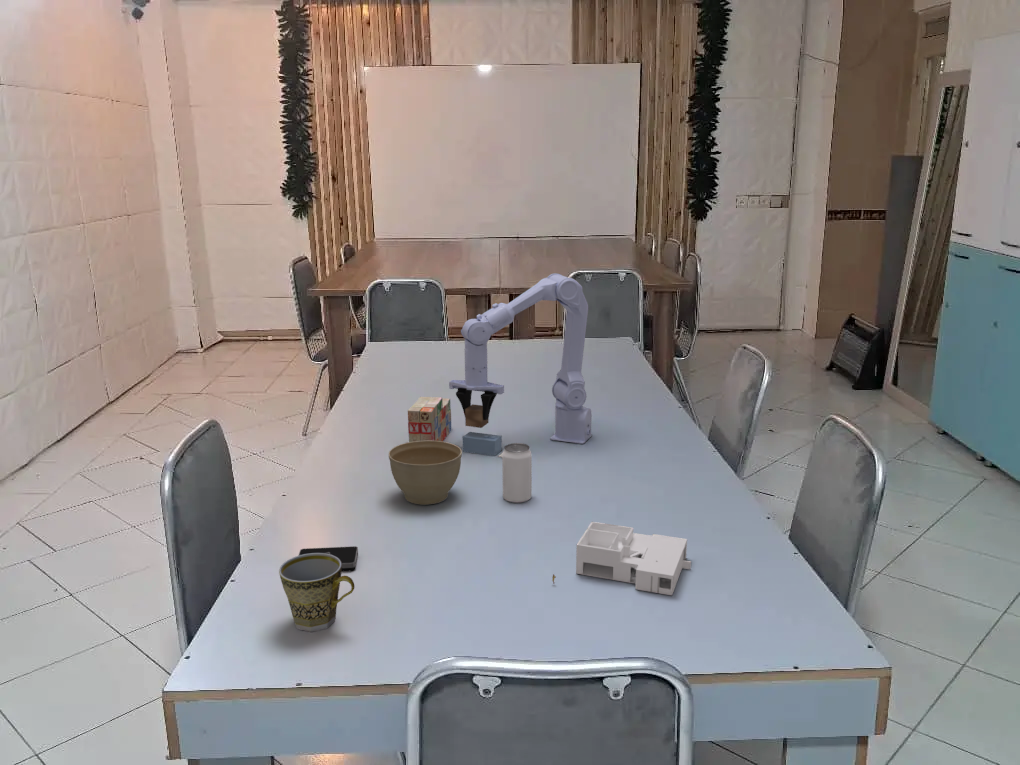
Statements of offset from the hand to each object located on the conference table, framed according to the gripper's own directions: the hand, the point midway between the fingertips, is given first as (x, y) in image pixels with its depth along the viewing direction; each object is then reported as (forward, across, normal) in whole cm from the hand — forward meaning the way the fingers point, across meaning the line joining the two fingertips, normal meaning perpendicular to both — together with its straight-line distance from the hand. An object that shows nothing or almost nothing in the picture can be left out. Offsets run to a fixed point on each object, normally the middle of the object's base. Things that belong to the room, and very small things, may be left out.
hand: (476, 417), depth 218 cm
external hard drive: (+9, 0, -68) cm, 69 cm away
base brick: (+8, +2, -1) cm, 9 cm away
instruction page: (+8, +10, 0) cm, 13 cm away
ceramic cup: (+9, +11, -86) cm, 87 cm away
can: (+9, +21, -26) cm, 35 cm away
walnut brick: (+2, 0, 0) cm, 2 cm away
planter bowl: (+9, +2, -33) cm, 34 cm away
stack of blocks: (+9, -14, +1) cm, 16 cm away
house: (+9, +56, -49) cm, 75 cm away
